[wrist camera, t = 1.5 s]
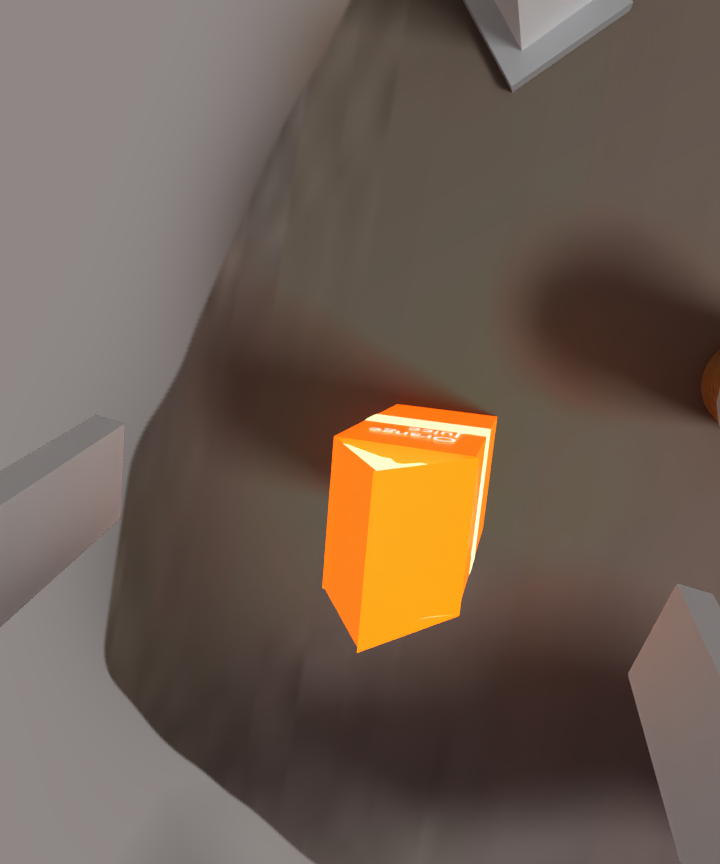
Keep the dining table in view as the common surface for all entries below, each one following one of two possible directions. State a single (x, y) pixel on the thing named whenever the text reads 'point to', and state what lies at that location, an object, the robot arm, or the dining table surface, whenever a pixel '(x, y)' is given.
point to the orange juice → (405, 518)
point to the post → (539, 31)
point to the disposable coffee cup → (712, 386)
